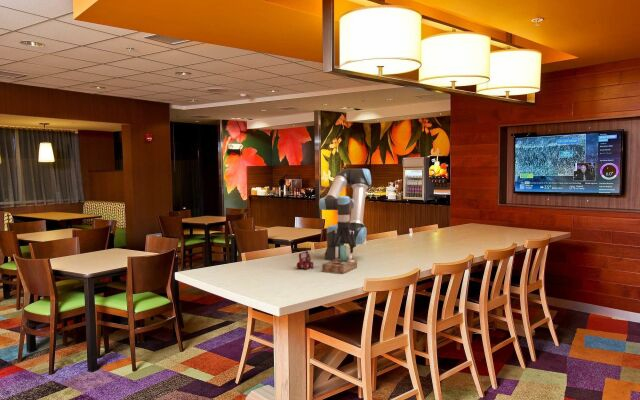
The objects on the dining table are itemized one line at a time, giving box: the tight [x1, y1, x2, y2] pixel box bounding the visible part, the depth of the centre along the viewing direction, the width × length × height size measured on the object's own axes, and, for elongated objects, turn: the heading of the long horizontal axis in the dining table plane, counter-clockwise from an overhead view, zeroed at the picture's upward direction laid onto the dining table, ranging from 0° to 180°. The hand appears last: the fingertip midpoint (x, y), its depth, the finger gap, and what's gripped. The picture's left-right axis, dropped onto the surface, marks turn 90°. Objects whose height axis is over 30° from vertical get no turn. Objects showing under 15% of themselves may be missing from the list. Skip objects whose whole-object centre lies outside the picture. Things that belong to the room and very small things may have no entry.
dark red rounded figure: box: [296, 250, 314, 271], centre depth 296 cm, size 7×12×10 cm, turn 151°
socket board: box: [321, 259, 358, 275], centre depth 292 cm, size 14×20×5 cm
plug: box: [340, 244, 348, 262], centre depth 296 cm, size 4×4×13 cm
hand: (343, 257), depth 296 cm, fingers open, 8 cm apart
